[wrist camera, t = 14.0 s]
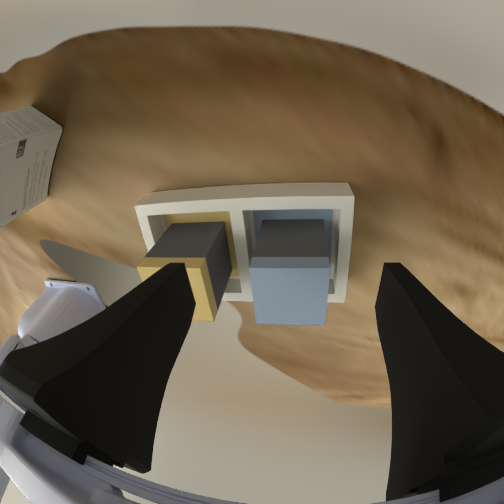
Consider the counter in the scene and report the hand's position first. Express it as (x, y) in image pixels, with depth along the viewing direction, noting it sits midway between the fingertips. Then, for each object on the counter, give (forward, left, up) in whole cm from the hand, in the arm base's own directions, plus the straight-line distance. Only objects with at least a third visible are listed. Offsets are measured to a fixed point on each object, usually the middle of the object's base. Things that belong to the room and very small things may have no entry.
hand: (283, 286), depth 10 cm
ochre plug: (-7, -4, -9) cm, 12 cm away
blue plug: (0, -4, -9) cm, 10 cm away
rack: (-3, -4, -10) cm, 11 cm away
